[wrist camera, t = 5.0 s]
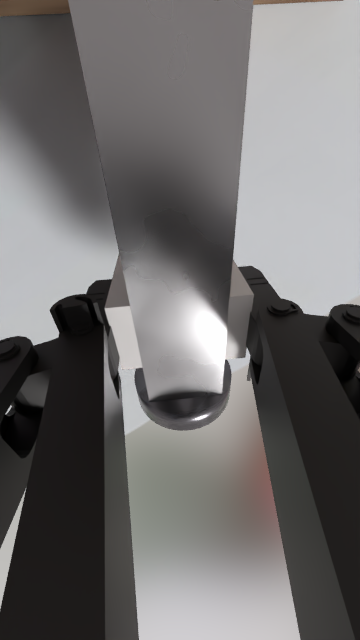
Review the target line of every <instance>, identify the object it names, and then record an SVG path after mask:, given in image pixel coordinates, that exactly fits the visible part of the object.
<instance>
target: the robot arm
mask: <svg viewBox="0 0 360 640" xmlns="http://www.w3.org/2000/svg"><path fill="white" fill-rule="evenodd" d="M50 312H51V315H52V317H53V319H54V321H55V324H56V326H57V328H58V330H59V338H56V339H54V340H51V341H48V342H44V343H41V344H38V345H35V346H33V344H32V342H31V340H30V339H28V338H26V337H21V336H16V337H10V338H6V339H3V340H1V341H0V548H1V545H2V543H3V541H4V538H5V536H6V534H7V531H8V529H9V527H10V524H11V522H12V520H13V517H14V515H15V513H16V510H17V508H18V506H19V503H20V501H21V498H22V496H23V494H24V491H25V489H26V492H25V497H24V502H23V507H22V511H21V516H20V520H19V525H18V530H17V534H16V539H15V544H14V549H13V553H12V559H11V563H10V567H9V572H8V577H7V582H6V587H5V591H4V595H3V600H2V605H1V609H0V640H139V636H138V622H137V607H136V594H135V579H134V564H133V550H132V536H131V521H130V507H129V494H128V479H127V464H126V450H125V435H124V421H123V407H122V393H121V379H120V376H119V373H118V366H119V361H120V364H121V368H122V370H125V369H135V368H143V367H142V362H141V357H140V352H139V347H138V343H137V338H136V333H135V328H134V323H133V318H132V313H131V308H130V303H129V298H128V293H127V288H126V283H125V278H124V274H123V269H122V264H121V259H120V254H119V256H118V259H117V263H116V267H115V271H114V274H113V278H112V279H109V280H97V281H95V282H94V283H93V284H92V285H91V286H90V287H89V288H88V291H87V293H86V294H79V295H73V296H69V297H66V298H64V299H61V300H59V301H58V302H57V303H55V304H54V305H53V306H52V307H51V309H50ZM246 348H248V350H249V353H250V355H251V356H250V363H249V369H248V375H247V380H248V381H250V378H251V379H252V384H253V389H254V394H255V400H256V405H257V410H258V415H259V421H260V426H261V431H262V437H263V442H264V447H265V453H266V457H267V463H268V468H269V473H270V479H271V484H272V489H273V495H274V501H275V506H276V511H277V516H278V522H279V527H280V532H281V538H282V543H283V548H284V554H285V559H286V564H287V570H288V574H289V579H290V585H291V591H292V596H293V601H294V606H295V612H296V617H297V622H298V628H299V633H300V638H301V640H360V373H359V372H358V369H359V367H360V306H358V305H353V304H341V305H337V306H334V307H333V308H332V309H331V311H330V314H329V316H328V317H327V316H317V315H309V314H304V313H303V311H302V309H301V308H300V307H299V306H298V305H297V304H295V303H294V302H292V301H289V300H286V299H280V297H279V296H278V295H277V293H276V292H275V290H274V289H273V288H272V286H271V285H270V284H269V282H268V281H267V280H266V278H265V277H264V275H263V274H262V273H261V271H259V270H258V269H256V268H254V267H253V266H245V267H237V265H236V263H235V262H234V260H233V263H232V275H231V288H230V297H229V309H228V323H227V337H226V351H225V359H235V358H245V355H246ZM10 405H11V406H12V408H11V409H10V411H9V412H8V413H7V414H6V415H5V413H6V412H7V410H8V408H9V407H10ZM26 487H27V488H26Z"/></svg>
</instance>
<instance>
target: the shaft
mask: <svg viewBox="0 0 360 640" xmlns="http://www.w3.org/2000/svg"><path fill="white" fill-rule="evenodd" d="M68 2H69V7H70V12H71V17H72V22H73V27H74V32H75V37H76V42H77V47H78V52H79V57H80V61H81V66H82V71H83V76H84V81H85V86H86V91H87V96H88V101H89V106H90V111H91V116H92V121H93V126H94V130H95V135H96V140H97V145H98V150H99V155H100V160H101V165H102V170H103V175H104V180H105V185H106V190H107V195H108V200H109V204H110V209H111V214H112V219H113V224H114V229H115V234H116V239H117V244H118V249H119V254H120V259H121V264H122V269H123V274H124V278H125V283H126V288H127V293H128V298H129V303H130V308H131V313H132V318H133V323H134V328H135V333H136V338H137V343H138V347H139V352H140V357H141V362H142V367H143V368H136V371H135V385H136V389H137V393H138V398H139V402H140V405H141V407H142V409H143V411H144V412H145V414H146V415H147V416H148V417H149V418H150V419H151V420H152V421H154V422H155V423H157V424H159V425H161V426H163V427H165V428H169V429H173V430H193V429H197V428H201V427H203V426H205V425H208V424H209V423H211V422H213V421H214V420H215V419H216V418H218V417H219V416H220V414H221V413H222V412H223V411H224V409H225V408H226V405H227V403H228V400H229V393H230V385H231V369H230V365H229V363H228V361H227V359H225V351H226V337H227V323H228V309H229V297H230V288H231V275H232V263H233V250H234V238H235V225H236V213H237V200H238V188H239V175H240V163H241V150H242V138H243V125H244V112H245V100H246V87H247V75H248V62H249V50H250V37H251V25H252V12H253V0H68Z"/></svg>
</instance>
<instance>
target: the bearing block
mask: <svg viewBox="0 0 360 640" xmlns="http://www.w3.org/2000/svg"><path fill="white" fill-rule="evenodd" d="M322 1H343V0H253V5H257V4H279V3H300V2H322ZM63 13H71V12H70V7H69V2H68V0H0V16H20V15H41V14H63Z"/></svg>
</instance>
